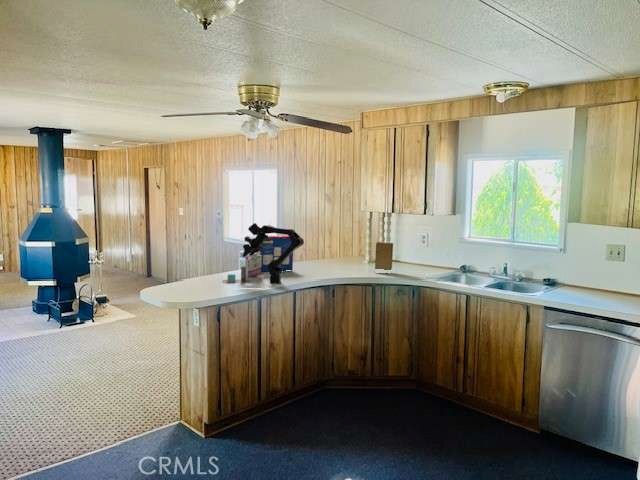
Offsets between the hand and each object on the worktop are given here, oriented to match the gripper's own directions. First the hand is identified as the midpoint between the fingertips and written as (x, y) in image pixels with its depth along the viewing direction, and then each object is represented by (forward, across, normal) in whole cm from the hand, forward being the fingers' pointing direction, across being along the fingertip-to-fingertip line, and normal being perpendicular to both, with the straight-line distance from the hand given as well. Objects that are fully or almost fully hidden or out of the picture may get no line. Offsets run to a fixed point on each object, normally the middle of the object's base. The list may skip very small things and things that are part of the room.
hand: (246, 256), depth 337 cm
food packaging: (-34, -88, +72) cm, 118 cm away
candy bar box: (+11, -9, +10) cm, 17 cm away
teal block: (+13, +17, +9) cm, 23 cm away
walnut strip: (+12, +15, +12) cm, 23 cm away
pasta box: (+14, -44, +10) cm, 47 cm away
